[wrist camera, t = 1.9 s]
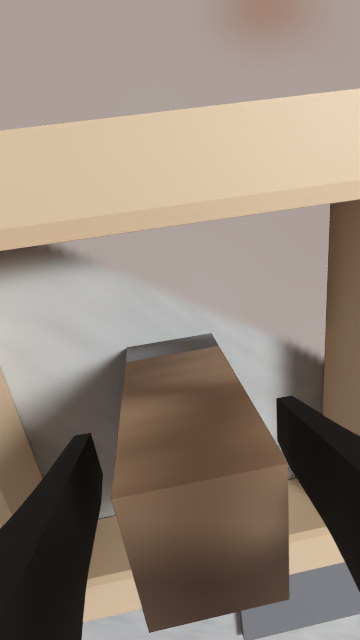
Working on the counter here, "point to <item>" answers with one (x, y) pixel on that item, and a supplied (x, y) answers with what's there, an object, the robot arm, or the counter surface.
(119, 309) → the counter surface
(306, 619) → the slate mat
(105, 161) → the wooden square frame
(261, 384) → the counter surface
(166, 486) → the walnut block
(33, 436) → the counter surface
